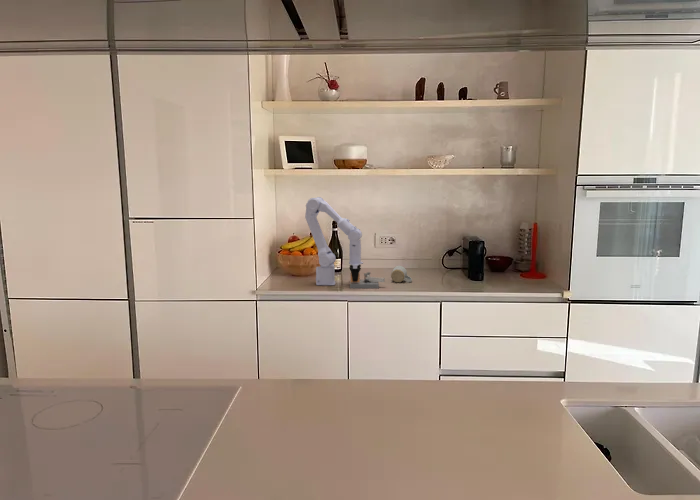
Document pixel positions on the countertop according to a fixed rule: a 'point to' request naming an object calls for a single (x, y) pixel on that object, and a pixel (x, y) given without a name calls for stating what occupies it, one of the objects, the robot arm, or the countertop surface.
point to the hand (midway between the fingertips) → (355, 280)
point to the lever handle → (372, 278)
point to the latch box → (364, 284)
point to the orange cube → (358, 278)
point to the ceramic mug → (400, 274)
